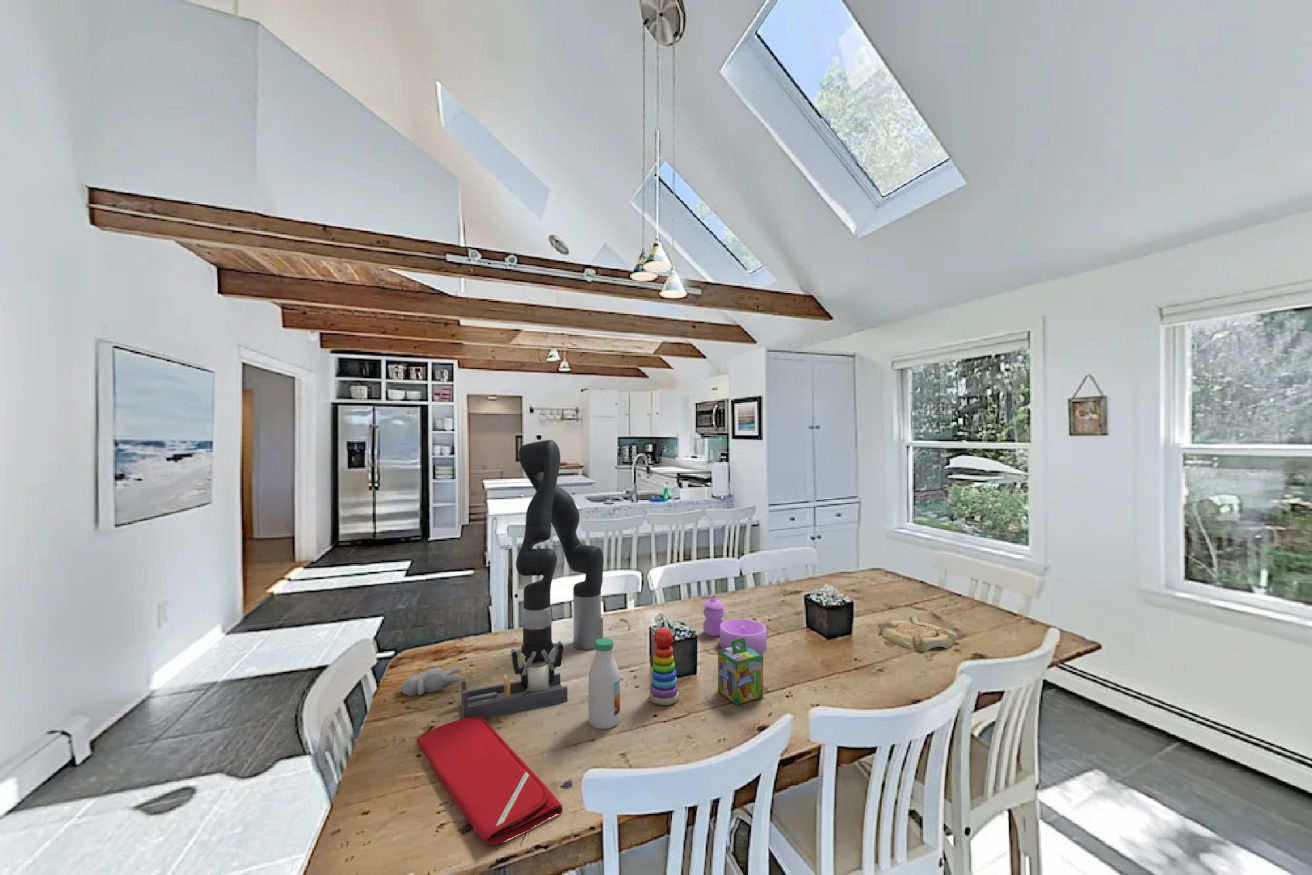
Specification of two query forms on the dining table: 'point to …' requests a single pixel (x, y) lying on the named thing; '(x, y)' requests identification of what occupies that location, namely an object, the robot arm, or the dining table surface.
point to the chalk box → (740, 673)
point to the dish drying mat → (487, 779)
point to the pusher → (494, 695)
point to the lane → (510, 699)
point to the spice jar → (538, 677)
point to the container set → (733, 627)
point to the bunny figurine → (429, 681)
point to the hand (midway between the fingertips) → (537, 684)
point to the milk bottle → (604, 687)
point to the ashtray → (917, 634)
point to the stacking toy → (663, 670)
